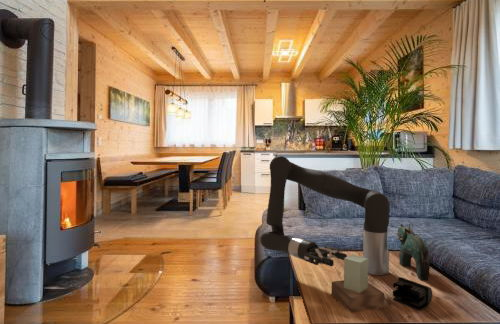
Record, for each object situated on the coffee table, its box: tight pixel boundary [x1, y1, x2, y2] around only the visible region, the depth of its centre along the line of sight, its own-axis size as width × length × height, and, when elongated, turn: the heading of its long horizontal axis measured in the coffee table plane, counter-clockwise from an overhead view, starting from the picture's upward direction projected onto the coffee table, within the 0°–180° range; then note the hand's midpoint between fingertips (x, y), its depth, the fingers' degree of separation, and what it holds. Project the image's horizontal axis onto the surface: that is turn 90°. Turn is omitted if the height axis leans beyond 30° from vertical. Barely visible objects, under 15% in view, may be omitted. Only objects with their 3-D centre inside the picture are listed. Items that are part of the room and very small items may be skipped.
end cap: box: [392, 276, 433, 312], centre depth 102 cm, size 10×7×7 cm
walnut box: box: [331, 279, 385, 313], centre depth 103 cm, size 12×12×5 cm
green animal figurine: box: [396, 222, 431, 282], centre depth 128 cm, size 20×6×20 cm, turn 178°
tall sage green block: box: [343, 253, 369, 293], centre depth 103 cm, size 6×6×10 cm
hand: (339, 260), depth 107 cm, fingers open, 8 cm apart
